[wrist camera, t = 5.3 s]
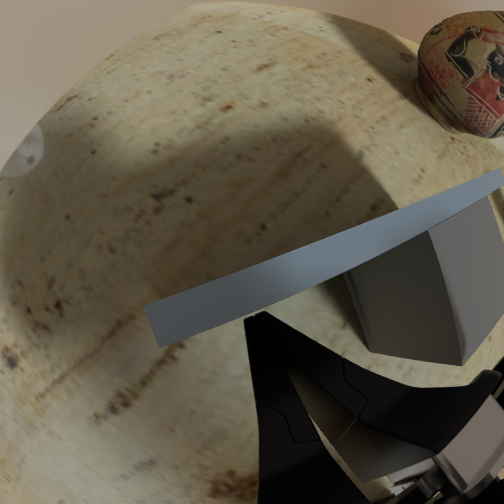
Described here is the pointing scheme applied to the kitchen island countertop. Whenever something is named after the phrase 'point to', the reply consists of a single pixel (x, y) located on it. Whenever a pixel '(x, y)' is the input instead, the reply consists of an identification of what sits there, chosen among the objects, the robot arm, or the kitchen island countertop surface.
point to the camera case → (434, 290)
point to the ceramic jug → (464, 73)
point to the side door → (306, 265)
